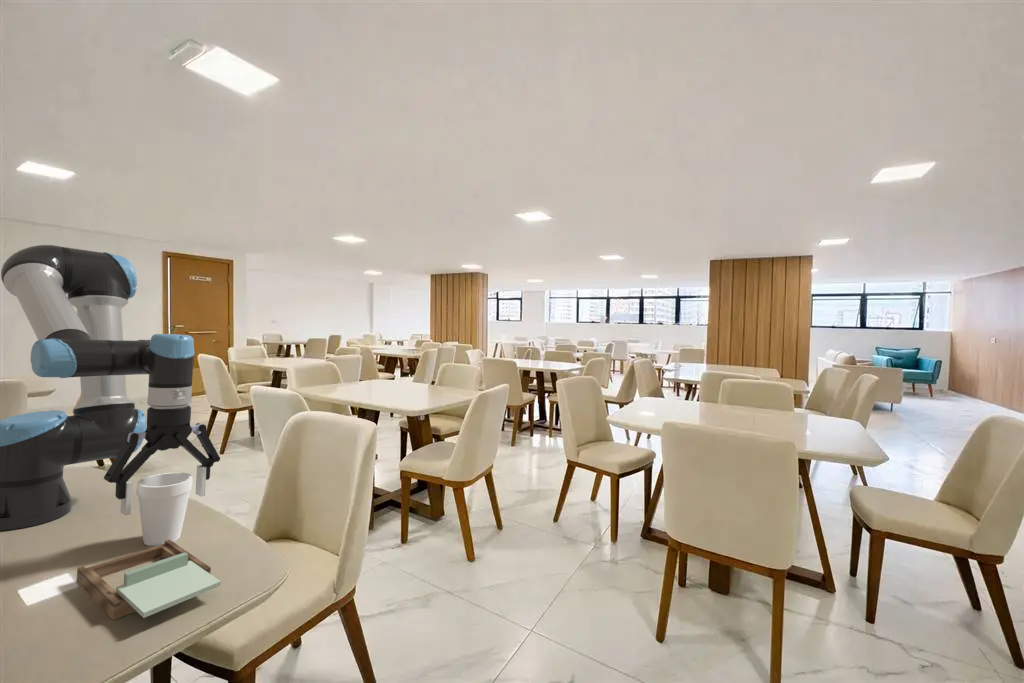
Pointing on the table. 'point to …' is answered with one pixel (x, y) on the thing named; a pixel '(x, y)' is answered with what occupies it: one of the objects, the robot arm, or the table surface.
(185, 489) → the foam cup
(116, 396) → the robot arm
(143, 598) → the cover
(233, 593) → the table surface
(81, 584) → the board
